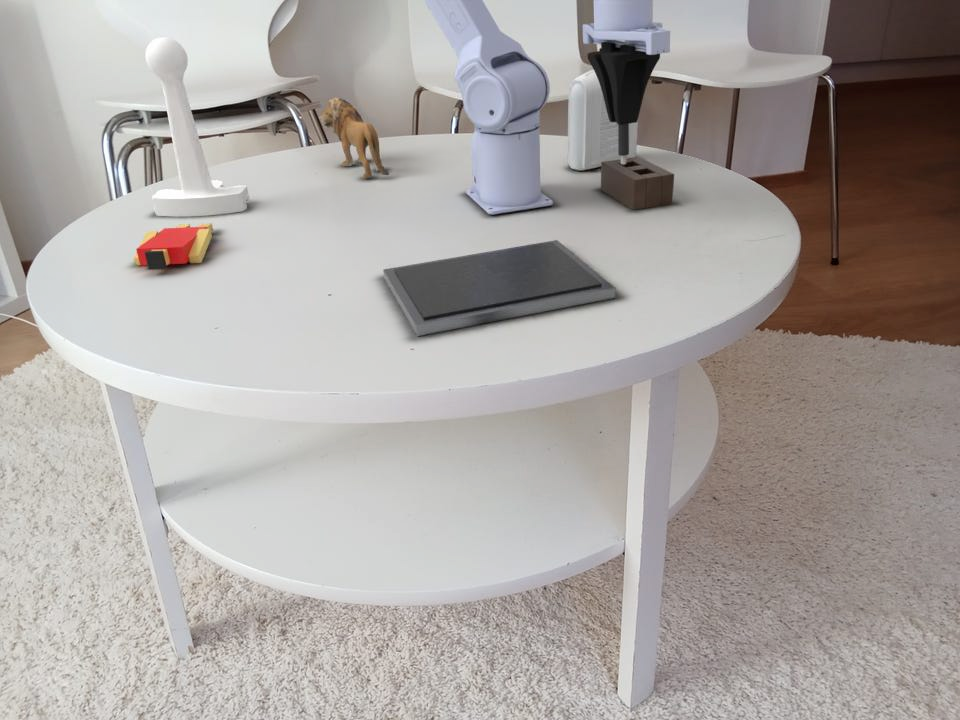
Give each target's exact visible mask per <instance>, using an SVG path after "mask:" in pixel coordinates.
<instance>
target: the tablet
mask: <svg viewBox="0 0 960 720" xmlns="http://www.w3.org/2000/svg"><path fill="white" fill-rule="evenodd" d="M382 271H383V279H384V280H385V282H386V284H387V286H388V287H389V290H390V291H391V293H392V295H393V297H394V298H395V299H396V302H397V303H398V305H399V307H400V309H401V310H402V312H403V314H404V315H405V317H406V319H407V321H408V323H409V325H410V326H411V328H412V330H413V331H414V333H415V335H416V336H417V337H420V336H425V335H430V334H431V335H432V334H435V333H441V332H447V331H452V330H456V329H457V330H458V329H462V328H468V327H472V326H478V325H483V324H487V323H494V322H499V321H503V320H509V319H514V318H519V317H524V316H529V315H530V316H531V315H534V314H535V315H536V314H538V313H545V312H550V311H554V310H561V309H565V308H570V307H571V308H572V307H576V306H581V305H586V304H591V303H596V302H601V301H606V300H612V299H615V298H616V287H615V286H614V285H613V284H612V283H610V282H609V281H608V280H607V279H605V278H604V277H603V276H601V274H599V272H597V271H596V270H594V269H593V268H592V267H591V266H590V265H589V264H587V263H586V262H585V261H584V260H582V259H581V258H580V257H578V256H577V255H576V254H575V253H574V252H573V251H571V250H570V249H569V248H568V247H566V246H565V245H564V244H562V242H560V241H559V240H558V239H555V240H554V239H553V240H549V241H543V242H537V243H531V244H526V245H519V246H514V247H508V248H507V247H506V248H503V249H497V250H490V251H489V250H488V251H485V252H479V253H473V254H467V255H466V254H465V255H461V256H454V257H449V258H443V259H437V260H431V261H425V262H419V263H413V264H408V265H401V266H396V267H390V268H384V269H383V270H382Z"/></svg>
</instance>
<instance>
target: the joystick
mask: <svg viewBox="0 0 960 720" xmlns="http://www.w3.org/2000/svg"><path fill="white" fill-rule="evenodd" d="M144 56H145V62H146V65H147V67H148V68H149V71H151V72H152V73H153V74H154V75H155V76H156V77H157V78H158V80H159V82H160V83H161V84H160V85H161V87H162V92H163V98H164V102H165V108H166V113H167V118H168V124H169V129H170V135H171V140H172V145H173V146H172V147H173V151H174V156H175V157H174V158H175V162H176V168H177V173H178V178H179V183H180V189H171V188H162V189H159V190H158V191H156V193H154V194H153V195H152V196H151V197H150V198H151V202H152V205H153V210H154V212H155V215H156V216H158V217H184V218H185V217H204V216H205V217H207V216H217V215H226V214H232V213H240V212H244V211H246V210H247V209H248V207H247V206H248V205H247V202H250V200H251V198H250V195H249V190H248V185H247V184H240V185H239V184H238V185H233V186H227V187H225V186H224V182H223V181H222V180H217V179H211V176H210V175H211V174H210V171H209V168H208V165H207V161H206V157H205V154H204V150H203V147H202V144H201V140H200V136H199V133H198V130H197V126H196V122H195V119H194V116H193V112H192V109H191V105H190V101H189V98H188V96H187V95H188V94H187V90H186V87H185V84H184V75H185V72H186V70H187V68H188V63H189V59H188V54H187V52H186V50H185V48H184V47H183V46H182V44H181V43H180V42H179V41H177V40H176V39H173V38H172V37H171V38H170V37H167V36H163V37H162V36H161V37H157V38H155V39H153V40H151V41H150V42H149V44H148V45H147V47H146V50H145V54H144Z"/></svg>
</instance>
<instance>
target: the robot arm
mask: <svg viewBox="0 0 960 720" xmlns="http://www.w3.org/2000/svg"><path fill="white" fill-rule="evenodd" d="M423 2H424V3H425V5H426V6H427V8H428V10H429V11H430V13H431V14H432V16H433V18H434V19H435V21H436V23H437V24H438V26H439V28H440V30H441V31H442V33H443V34H444V36H445V38H446V39H447V42H448V43H449V45H450V46H451V48H452V49H453V50H452V51H454V53H455V54H456V57H457V58H458V59H457V64H456V66H455V71H454V75H453V79H454V81H455V83H456V85H457V87H458V88H459V91H460V93H461V98H462V105H463V109H464V112H465V114H466V115H467V118H468V120H470V122H471V123H472V124H473V125H474V132H473V133H472V137H471V141H470V153H471V154H470V155H471V171H472V172H471V173H472V186H473V187H472V188H467V189H466V190H465V193H466V195H467V196H468V197H469V198H471V199H472V200H473V201H474V202H475V203H476V204H477V205H478V206H479V207H480V208H482V210H484V211H485V212H486V213H487V214H488V215H492V216H493V215H498V214H506V213H511V212H517V211H525V210H530V209H531V210H532V209H537V208H544V207H551V206H552V205H554V201H553V199H551V198H550V197H548V196H547V195H546V194H544V193H542V192H541V140H540V139H541V132H540V131H541V130H540V129H541V128H540V124H541V122H540V120H541V110H542V109H543V108H544V107H545V106H546V104H547V102H548V99H549V97H550V92H551V91H550V90H551V86H550V85H551V84H550V80H549V76H548V74H547V72H546V70H545V69H544V67H543V66H542V65H541V64H539V62H537V61H536V60H534V59H533V58H531V57H530V56H529V55H528V54H527V53H526V51H525V50H524V48H523V45H522V44H521V43H520V42H518V41H516V40H515V39H513V38H512V37H510V36H508V35H507V34H505V33H504V32H503V31H501V30H500V28H499V25H497V23H496V21H495V18H494V17H493V15H492V14H491V13H490V11H489V9H488V7H487V6H486V4H485V2H484V1H483V0H423ZM653 19H654V0H593V23H592V22H591V23H585V24H582V44H584V45H592V44H593V45H594V44H595V45H600V48H599V50H597V51H591V52H588V53H587V61H588V62H589V64H590V65H591V67H592V70H594V71H595V73H596V76H597V78H598V81H599V83H600V86H601V90H602V93H603V97H604V101H605V106H606V110H607V114H608V117H609V121H610V122H617V124H618V125H624V124H630V123H636V122H637V120H638V121H639V116H640V113H641V108H642V104H643V100H644V96H645V92H646V90H647V89H646V88H647V85H648V83H649V80H650V78H651V76H652V73H653V72H654V69H655V67H656V66H657V64H658V62H659V61H660V59H661V54H668V53H670V52H671V30H670V29H664V28H663V22H656V21H653Z"/></svg>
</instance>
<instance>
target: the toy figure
mask: <svg viewBox="0 0 960 720" xmlns="http://www.w3.org/2000/svg"><path fill="white" fill-rule="evenodd" d="M213 232H214V227H213V223H212V222H209V223H205V222H204V223H201V224H200V225H198V226H191V224H190V223H185V224H184V223H182V224H178V225H177V226H176V227H165V228H163V229H161V230H160V231H158V230H151V231H150V230H148V231H146V233H145V234H144V237H143V239H142V240H141V241H140V242H141V243H140V244H139V246H138V247H137V248H136V253H135V254H134V256H133V260H134V262H135V265H136V266H147V269H148V270H166V269H168V268H167V267H168V266H169V265H182V264H183V265H184V264H187V263H190V264H202V263H203V260H204V257H205V254H206V253H207V250H208V248H209V245H210V243H211V240H212V237H213V234H212V233H213Z"/></svg>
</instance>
